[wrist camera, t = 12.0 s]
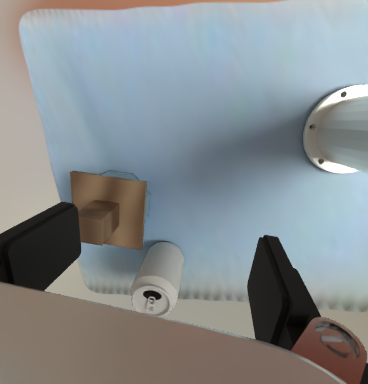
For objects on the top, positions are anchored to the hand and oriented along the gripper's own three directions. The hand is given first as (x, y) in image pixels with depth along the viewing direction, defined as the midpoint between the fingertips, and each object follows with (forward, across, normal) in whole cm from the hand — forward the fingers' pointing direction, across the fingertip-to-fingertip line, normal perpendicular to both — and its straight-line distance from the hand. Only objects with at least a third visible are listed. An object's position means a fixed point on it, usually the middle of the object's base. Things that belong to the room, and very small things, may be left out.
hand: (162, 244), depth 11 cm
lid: (+21, +14, +10) cm, 27 cm away
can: (+26, +5, +21) cm, 34 cm away
